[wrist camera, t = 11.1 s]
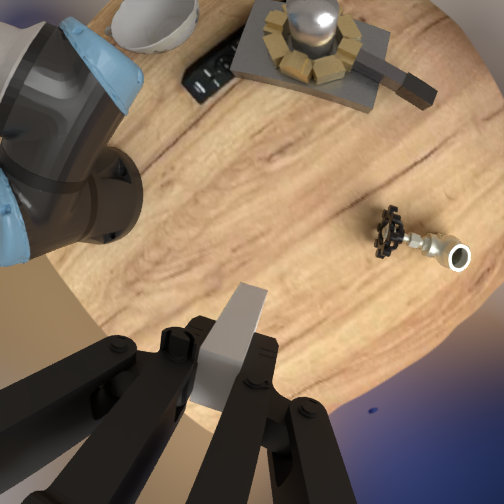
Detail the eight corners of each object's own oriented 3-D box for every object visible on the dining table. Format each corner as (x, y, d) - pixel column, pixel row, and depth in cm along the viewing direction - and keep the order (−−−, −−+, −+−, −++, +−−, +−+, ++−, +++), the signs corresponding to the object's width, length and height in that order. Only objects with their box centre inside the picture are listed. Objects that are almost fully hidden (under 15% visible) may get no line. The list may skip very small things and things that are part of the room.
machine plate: (235, 76, 35) (203, 38, 23) (259, 8, 32) (240, -44, 19) (368, 113, 33) (395, 86, 21) (385, 41, 30) (411, -5, 18)
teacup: (216, -6, 32) (199, -33, 24) (211, 60, 35) (190, 38, 27) (130, 14, 35) (104, -5, 27) (120, 76, 38) (90, 63, 30)
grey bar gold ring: (410, 139, 30) (421, 135, 27) (253, 63, 31) (246, 51, 28) (437, 71, 27) (449, 62, 23) (289, 1, 28) (286, -15, 24)
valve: (457, 226, 35) (383, 202, 36) (479, 236, 28) (397, 207, 30) (443, 271, 36) (370, 250, 38) (463, 287, 30) (381, 264, 32)
